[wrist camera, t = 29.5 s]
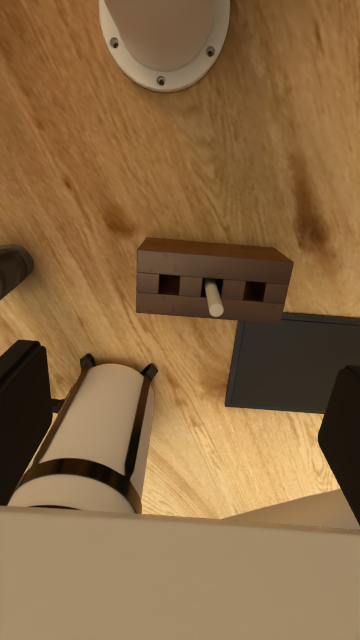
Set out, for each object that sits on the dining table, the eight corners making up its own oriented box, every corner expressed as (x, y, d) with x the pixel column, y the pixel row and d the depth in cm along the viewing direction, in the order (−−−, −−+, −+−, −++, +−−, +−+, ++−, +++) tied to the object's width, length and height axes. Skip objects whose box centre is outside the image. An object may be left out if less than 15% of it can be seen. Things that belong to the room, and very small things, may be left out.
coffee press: (125, 322, 45) (26, 546, 17) (184, 402, 50) (180, 673, 22) (32, 376, 49) (-171, 629, 21) (96, 445, 54) (0, 721, 26)
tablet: (224, 403, 50) (225, 407, 49) (239, 308, 44) (241, 311, 43) (363, 413, 50) (366, 418, 49) (398, 320, 44) (403, 323, 43)
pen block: (146, 237, 40) (137, 249, 33) (274, 247, 40) (294, 262, 33) (144, 290, 43) (135, 312, 35) (264, 299, 43) (280, 324, 36)
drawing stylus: (202, 266, 41) (209, 303, 29) (212, 266, 41) (224, 303, 28) (202, 275, 42) (209, 317, 29) (212, 275, 42) (223, 317, 29)
